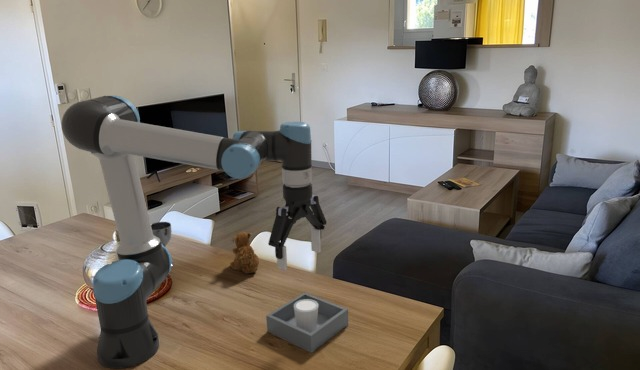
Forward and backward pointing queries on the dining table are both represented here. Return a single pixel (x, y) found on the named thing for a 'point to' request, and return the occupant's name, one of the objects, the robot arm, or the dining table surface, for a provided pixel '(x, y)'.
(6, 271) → the dining table surface
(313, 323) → the white cup
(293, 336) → the charcoal bin
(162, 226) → the wine glass
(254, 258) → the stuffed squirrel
